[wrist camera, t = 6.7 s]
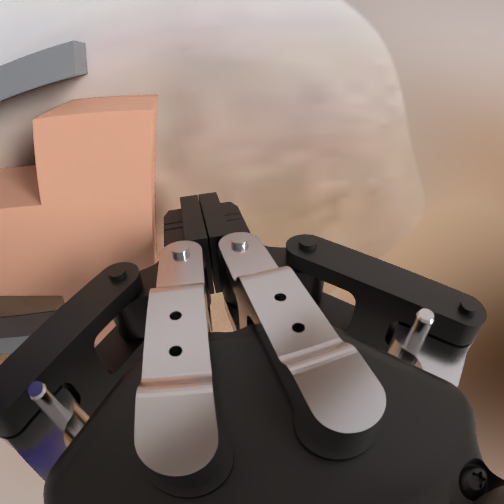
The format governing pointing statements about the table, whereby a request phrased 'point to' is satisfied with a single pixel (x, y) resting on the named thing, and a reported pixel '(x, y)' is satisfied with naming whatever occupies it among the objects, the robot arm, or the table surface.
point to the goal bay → (11, 84)
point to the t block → (80, 198)
